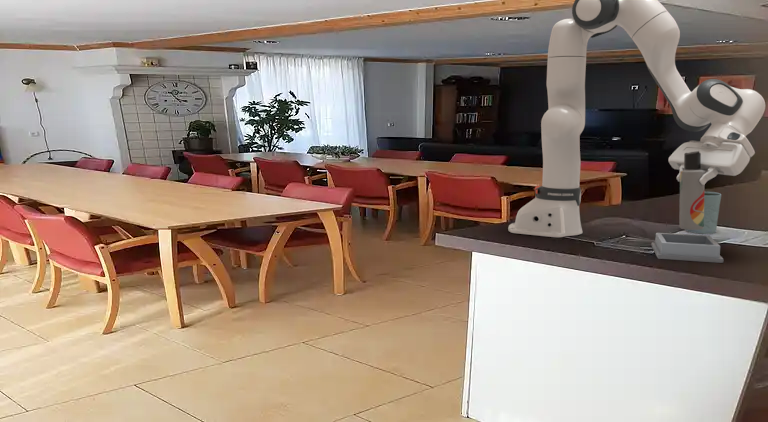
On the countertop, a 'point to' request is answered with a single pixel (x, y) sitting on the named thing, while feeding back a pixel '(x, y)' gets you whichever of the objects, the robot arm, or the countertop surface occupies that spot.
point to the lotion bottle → (691, 193)
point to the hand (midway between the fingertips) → (689, 181)
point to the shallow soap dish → (687, 247)
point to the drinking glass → (710, 213)
